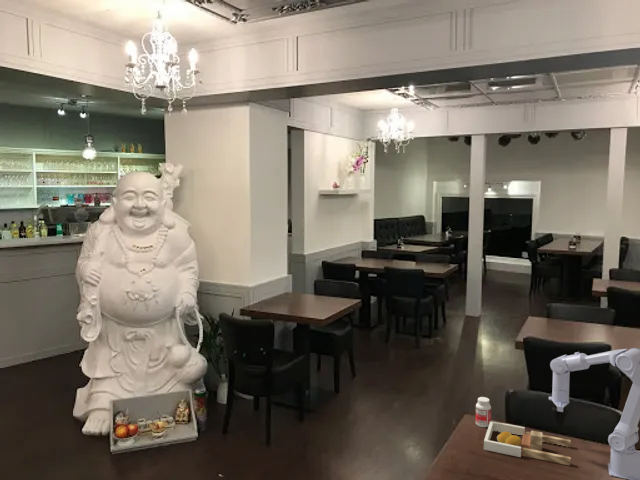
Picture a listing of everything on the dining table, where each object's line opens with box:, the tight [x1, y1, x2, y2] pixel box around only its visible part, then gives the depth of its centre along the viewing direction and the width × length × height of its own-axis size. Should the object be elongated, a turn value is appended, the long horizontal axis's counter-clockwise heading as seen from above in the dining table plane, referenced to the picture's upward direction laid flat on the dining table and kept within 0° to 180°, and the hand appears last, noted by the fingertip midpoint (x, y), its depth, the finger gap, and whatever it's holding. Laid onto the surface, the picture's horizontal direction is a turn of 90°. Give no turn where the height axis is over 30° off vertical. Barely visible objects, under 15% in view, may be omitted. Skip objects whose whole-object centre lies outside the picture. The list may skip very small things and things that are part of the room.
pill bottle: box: [475, 396, 492, 428], centre depth 211 cm, size 6×6×11 cm
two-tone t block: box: [521, 430, 544, 453], centre depth 192 cm, size 7×9×6 cm
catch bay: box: [483, 420, 526, 458], centre depth 197 cm, size 13×18×4 cm
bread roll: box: [496, 432, 522, 447], centre depth 196 cm, size 8×9×4 cm
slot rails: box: [522, 431, 572, 466], centre depth 190 cm, size 16×15×2 cm
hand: (559, 422), depth 192 cm, fingers open, 7 cm apart
